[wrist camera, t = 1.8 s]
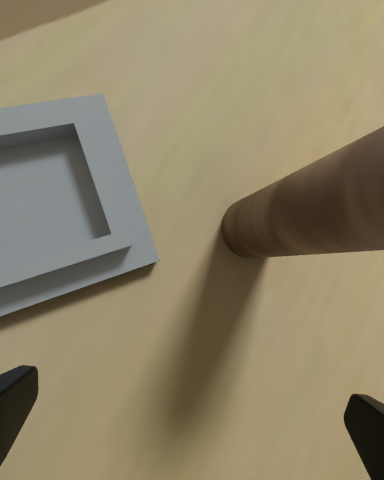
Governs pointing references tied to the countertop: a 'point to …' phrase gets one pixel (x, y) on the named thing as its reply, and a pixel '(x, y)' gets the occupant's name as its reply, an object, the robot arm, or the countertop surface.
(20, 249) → the seat dish
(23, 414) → the robot arm
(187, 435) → the countertop surface
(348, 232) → the pepper mill
